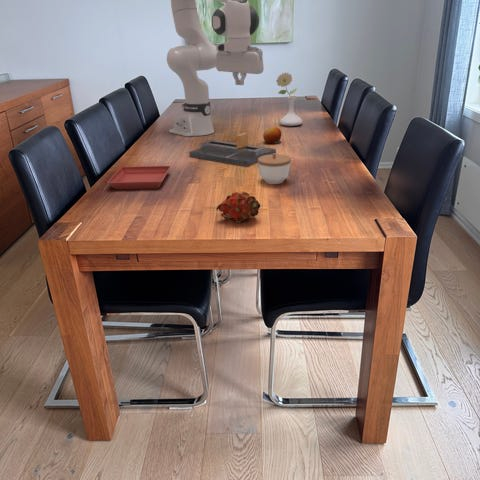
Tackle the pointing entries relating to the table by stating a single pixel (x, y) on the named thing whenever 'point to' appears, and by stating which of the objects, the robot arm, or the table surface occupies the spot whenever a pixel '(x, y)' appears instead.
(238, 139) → the block
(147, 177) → the plant saucer
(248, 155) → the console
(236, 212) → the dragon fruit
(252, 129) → the table surface
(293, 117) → the flower in vase
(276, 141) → the fruit
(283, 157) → the lidded jar
